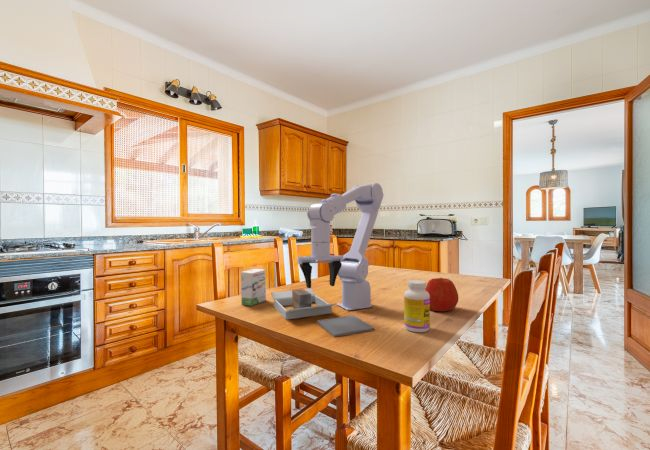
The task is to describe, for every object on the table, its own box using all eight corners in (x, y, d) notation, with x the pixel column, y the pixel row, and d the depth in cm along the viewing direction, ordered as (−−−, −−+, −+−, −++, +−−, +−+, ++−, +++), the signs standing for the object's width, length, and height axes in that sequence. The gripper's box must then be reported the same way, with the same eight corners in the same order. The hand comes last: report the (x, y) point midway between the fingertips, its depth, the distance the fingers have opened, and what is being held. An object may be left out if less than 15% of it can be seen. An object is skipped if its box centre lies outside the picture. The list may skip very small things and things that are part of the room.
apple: (453, 316, 92) (453, 281, 92) (418, 310, 99) (418, 278, 99) (462, 308, 101) (461, 276, 101) (429, 303, 107) (429, 273, 107)
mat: (353, 317, 93) (353, 315, 93) (374, 329, 82) (374, 327, 82) (316, 322, 88) (316, 320, 88) (334, 337, 77) (334, 334, 77)
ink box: (251, 306, 106) (251, 272, 106) (240, 304, 108) (240, 271, 108) (266, 300, 114) (266, 269, 113) (256, 299, 116) (255, 268, 116)
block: (303, 306, 106) (303, 288, 106) (311, 312, 98) (311, 293, 98) (292, 307, 104) (292, 290, 104) (299, 313, 97) (299, 295, 97)
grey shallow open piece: (311, 299, 115) (311, 288, 115) (336, 316, 94) (336, 303, 94) (271, 303, 109) (271, 292, 109) (289, 323, 88) (289, 309, 88)
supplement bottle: (426, 335, 78) (426, 285, 78) (401, 330, 81) (400, 282, 81) (432, 327, 84) (432, 280, 83) (408, 323, 87) (408, 278, 87)
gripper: (302, 243, 86) (301, 291, 87) (347, 242, 92) (347, 287, 92) (295, 242, 93) (295, 286, 93) (338, 241, 98) (338, 283, 99)
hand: (320, 286), depth 93 cm, fingers open, 7 cm apart
